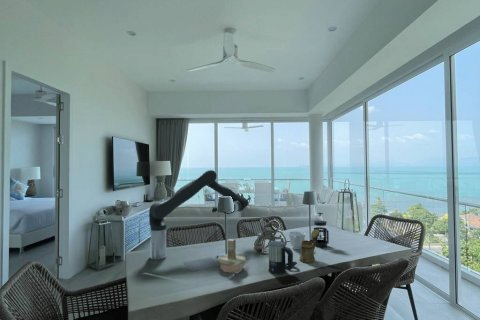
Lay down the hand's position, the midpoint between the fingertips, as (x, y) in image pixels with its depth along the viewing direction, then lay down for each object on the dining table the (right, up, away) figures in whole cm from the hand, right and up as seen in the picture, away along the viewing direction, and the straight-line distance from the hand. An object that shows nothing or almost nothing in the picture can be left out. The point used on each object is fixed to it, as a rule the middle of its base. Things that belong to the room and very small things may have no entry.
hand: (218, 211), depth 170 cm
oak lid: (+9, -22, -23) cm, 33 cm away
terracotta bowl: (+9, -27, -23) cm, 37 cm away
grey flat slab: (-8, -28, -16) cm, 33 cm away
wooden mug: (+55, -28, -8) cm, 62 cm away
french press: (+70, -28, +20) cm, 78 cm away
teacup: (+52, -28, +14) cm, 61 cm away
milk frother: (+37, -28, -23) cm, 51 cm away
